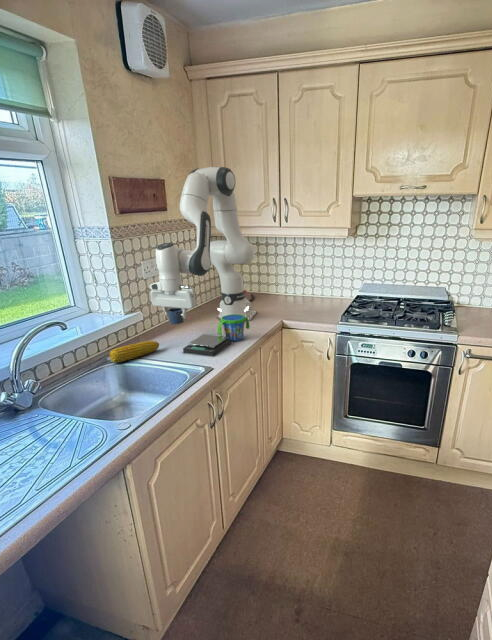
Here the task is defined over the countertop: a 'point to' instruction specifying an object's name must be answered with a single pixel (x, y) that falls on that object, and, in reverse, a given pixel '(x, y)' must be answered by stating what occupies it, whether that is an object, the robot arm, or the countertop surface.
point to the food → (132, 351)
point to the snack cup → (233, 326)
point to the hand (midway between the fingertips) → (175, 317)
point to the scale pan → (207, 341)
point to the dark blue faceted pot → (175, 316)
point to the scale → (207, 349)
